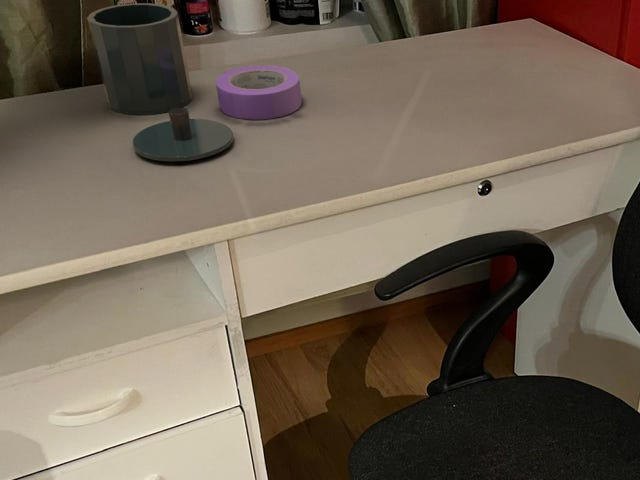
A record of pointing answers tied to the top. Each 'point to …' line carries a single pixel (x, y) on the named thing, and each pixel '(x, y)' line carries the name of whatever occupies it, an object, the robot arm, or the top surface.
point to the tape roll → (259, 92)
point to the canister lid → (182, 138)
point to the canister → (141, 58)
